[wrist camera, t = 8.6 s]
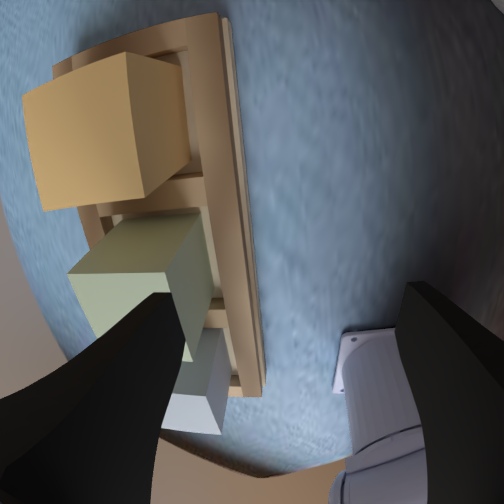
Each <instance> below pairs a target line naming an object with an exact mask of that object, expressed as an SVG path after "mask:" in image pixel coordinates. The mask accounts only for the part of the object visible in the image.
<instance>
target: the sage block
mask: <svg viewBox="0 0 504 504" xmlns="http://www.w3.org/2000/svg"><path fill="white" fill-rule="evenodd" d="M67 275H68V278H69V280H70V283H71V285H72V287H73V289H74V292H75V294H76V296H77V298H78V301H79V303H80V305H81V307H82V309H83V311H84V313H85V315H86V317H87V319H88V321H89V323H90V325H91V327H92V329H93V331H94V333H95V335H96V337H97V339H98V338H99V337H101V336H102V335H103V334H104V333H106V332H107V331H108V330H109V329H110V328H111V327H113V326H114V325H115V324H116V323H117V322H118V321H120V320H121V319H122V318H123V317H124V316H125V315H127V314H128V313H129V312H130V311H131V310H132V309H133V308H135V307H136V306H137V305H138V304H139V303H140V302H142V301H143V300H144V299H145V298H147V297H148V296H149V295H151V294H152V293H153V292H171V293H172V297H173V300H174V303H175V307H176V310H177V313H178V316H179V320H180V323H181V326H182V329H183V332H184V335H185V338H186V342H185V347H184V353H183V358H182V361H187V362H193V360H194V357H195V353H196V350H197V346H198V343H199V339H200V336H201V333H202V329H203V326H204V322H205V319H206V316H207V312H208V309H209V306H210V302H211V299H212V296H213V292H214V289H215V286H214V281H213V276H212V271H211V265H210V260H209V255H208V249H207V244H206V238H205V232H204V227H203V221H202V215H201V212H199V213H186V214H175V215H164V216H153V217H143V218H133V219H123V220H121V221H120V222H119V223H118V224H117V225H116V226H115V227H114V228H113V229H112V230H111V231H110V232H108V233H107V234H106V235H105V236H104V237H103V238H102V239H101V240H100V241H99V242H98V243H97V244H96V245H95V246H94V247H93V248H92V249H91V250H90V251H89V252H88V253H87V254H86V255H85V256H84V257H83V258H82V259H81V260H80V261H79V262H78V263H77V264H76V265H75V266H74V267H73V268H72V269H71V270H70V271H69V272H68V273H67Z"/></svg>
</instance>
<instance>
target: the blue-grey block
mask: <svg viewBox="0 0 504 504" xmlns="http://www.w3.org/2000/svg"><path fill="white" fill-rule="evenodd" d="M231 373H232V367H231V362H230V358H229V353H228V349H227V344H226V340H225V335H224V330H223V328H203V329H202V333H201V336H200V339H199V343H198V346H197V350H196V353H195V357H194V360H193V362H187V361H182V363H181V368H180V371H179V374H178V377H177V380H176V383H175V386H174V389H173V392H172V395H171V398H170V401H169V404H168V407H167V410H166V413H165V416H164V420H163V423H162V426H161V428H166V429H173V430H180V431H188V432H196V433H206V434H218V435H222V429H223V422H224V416H225V410H226V404H227V398H228V391H229V385H230V379H231Z"/></svg>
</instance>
